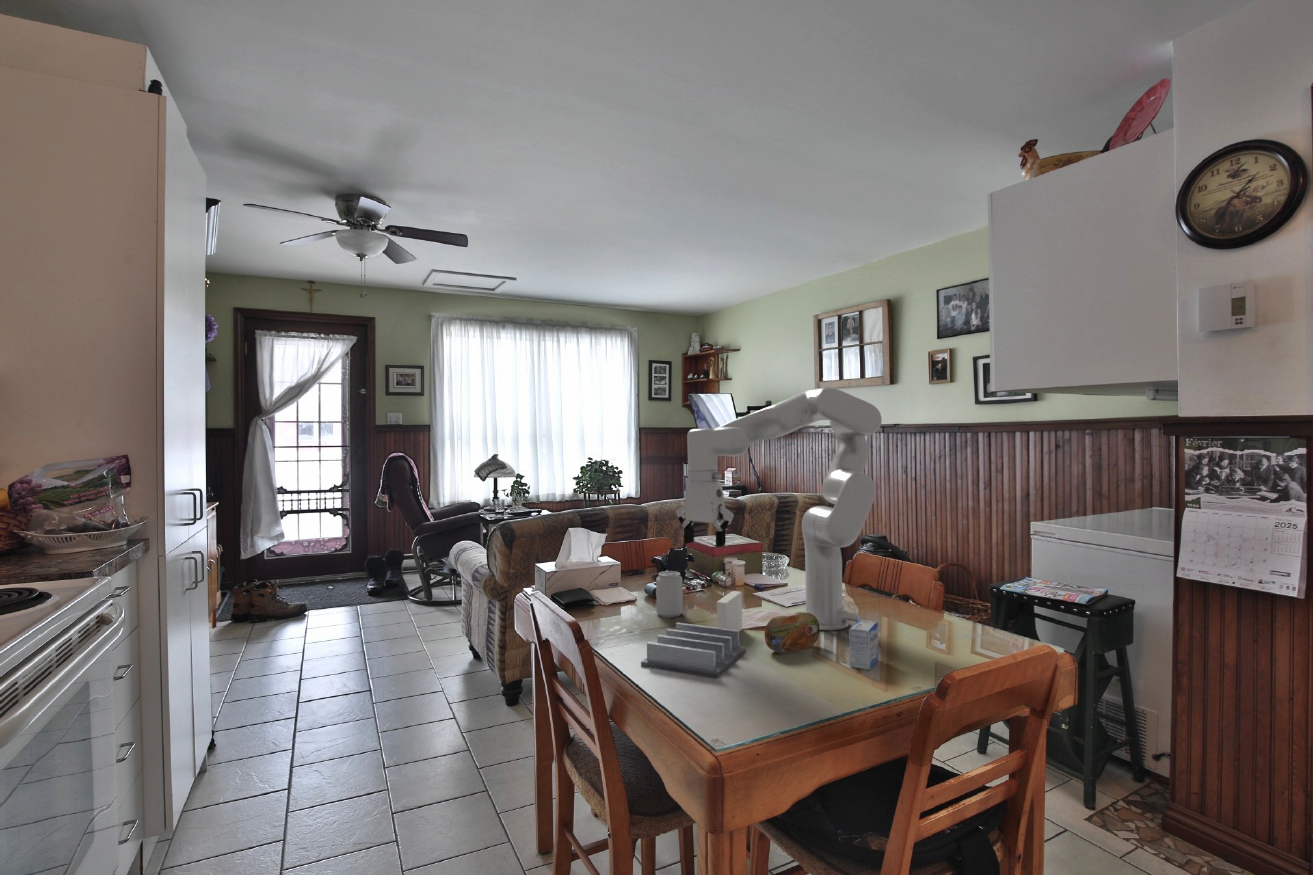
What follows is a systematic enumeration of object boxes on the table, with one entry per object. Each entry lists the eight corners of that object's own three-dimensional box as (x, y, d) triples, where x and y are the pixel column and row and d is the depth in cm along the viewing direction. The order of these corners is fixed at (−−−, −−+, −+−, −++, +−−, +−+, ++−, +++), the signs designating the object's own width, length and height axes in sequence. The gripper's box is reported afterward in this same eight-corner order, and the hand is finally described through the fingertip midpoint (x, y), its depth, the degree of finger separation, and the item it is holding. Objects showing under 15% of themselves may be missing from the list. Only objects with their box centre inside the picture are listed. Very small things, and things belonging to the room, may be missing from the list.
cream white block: (742, 629, 171) (741, 591, 171) (726, 643, 160) (726, 602, 160) (733, 628, 172) (732, 590, 172) (717, 641, 161) (716, 601, 161)
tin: (770, 656, 150) (770, 620, 150) (762, 652, 153) (762, 617, 153) (820, 645, 157) (820, 611, 157) (812, 642, 160) (811, 608, 160)
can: (680, 618, 181) (680, 575, 181) (654, 617, 183) (653, 575, 183) (684, 611, 189) (684, 570, 188) (659, 610, 190) (658, 569, 190)
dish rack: (744, 650, 155) (744, 629, 155) (716, 678, 137) (716, 654, 137) (675, 640, 162) (675, 620, 162) (641, 666, 145) (640, 643, 145)
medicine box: (869, 671, 141) (869, 631, 140) (849, 667, 143) (848, 628, 143) (878, 659, 147) (878, 621, 147) (858, 656, 150) (858, 618, 150)
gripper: (740, 477, 162) (741, 545, 162) (684, 475, 173) (686, 539, 173) (723, 479, 156) (724, 550, 156) (667, 477, 167) (668, 543, 168)
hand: (704, 544), depth 165 cm, fingers open, 9 cm apart
